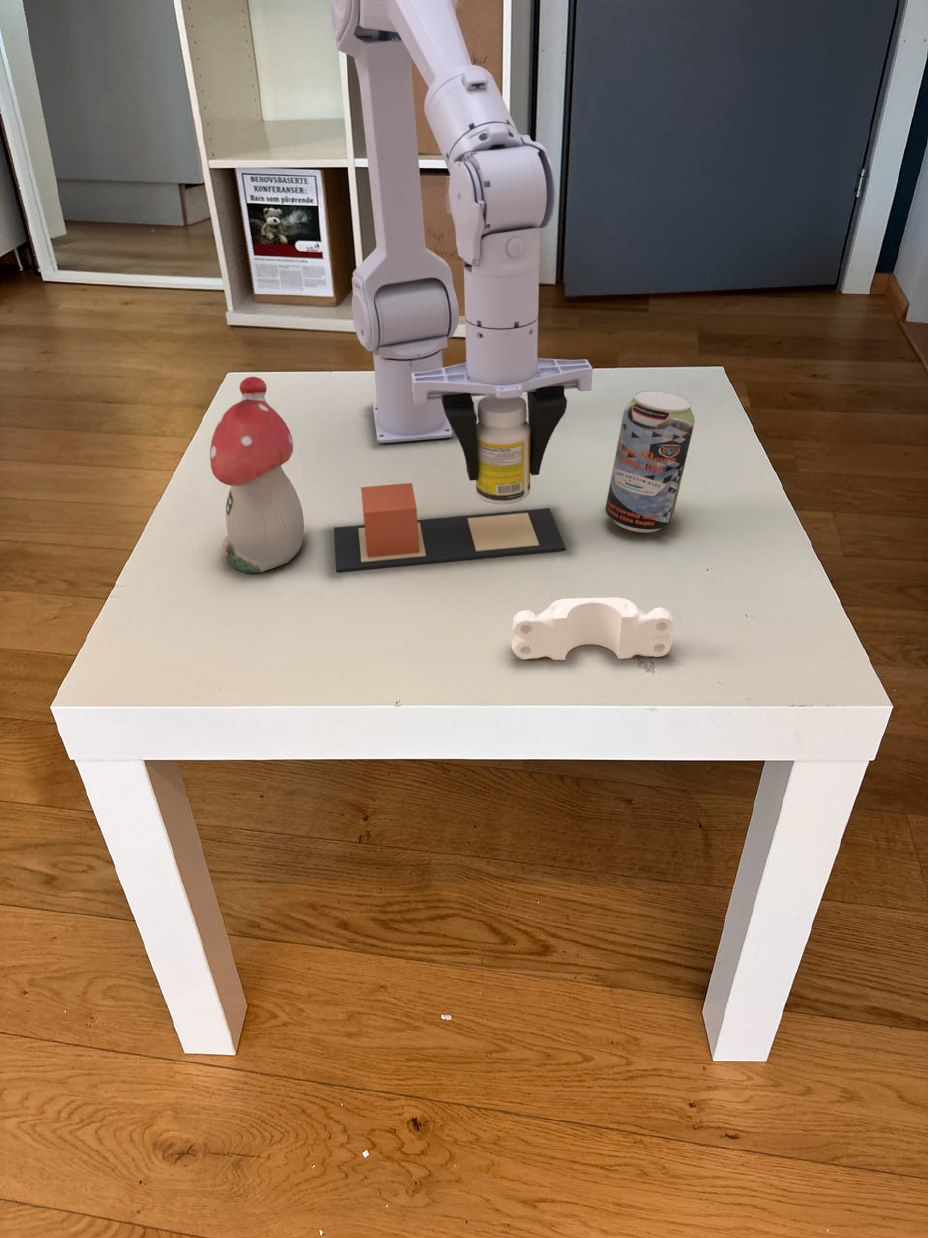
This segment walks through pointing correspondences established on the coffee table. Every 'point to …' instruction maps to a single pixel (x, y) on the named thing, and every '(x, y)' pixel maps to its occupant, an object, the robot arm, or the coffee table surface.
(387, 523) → the orange red cube
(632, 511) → the beverage can
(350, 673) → the coffee table surface
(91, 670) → the coffee table surface
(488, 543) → the black rectangular board
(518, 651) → the pipe clamp
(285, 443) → the decorative ornament
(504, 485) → the supplement bottle
